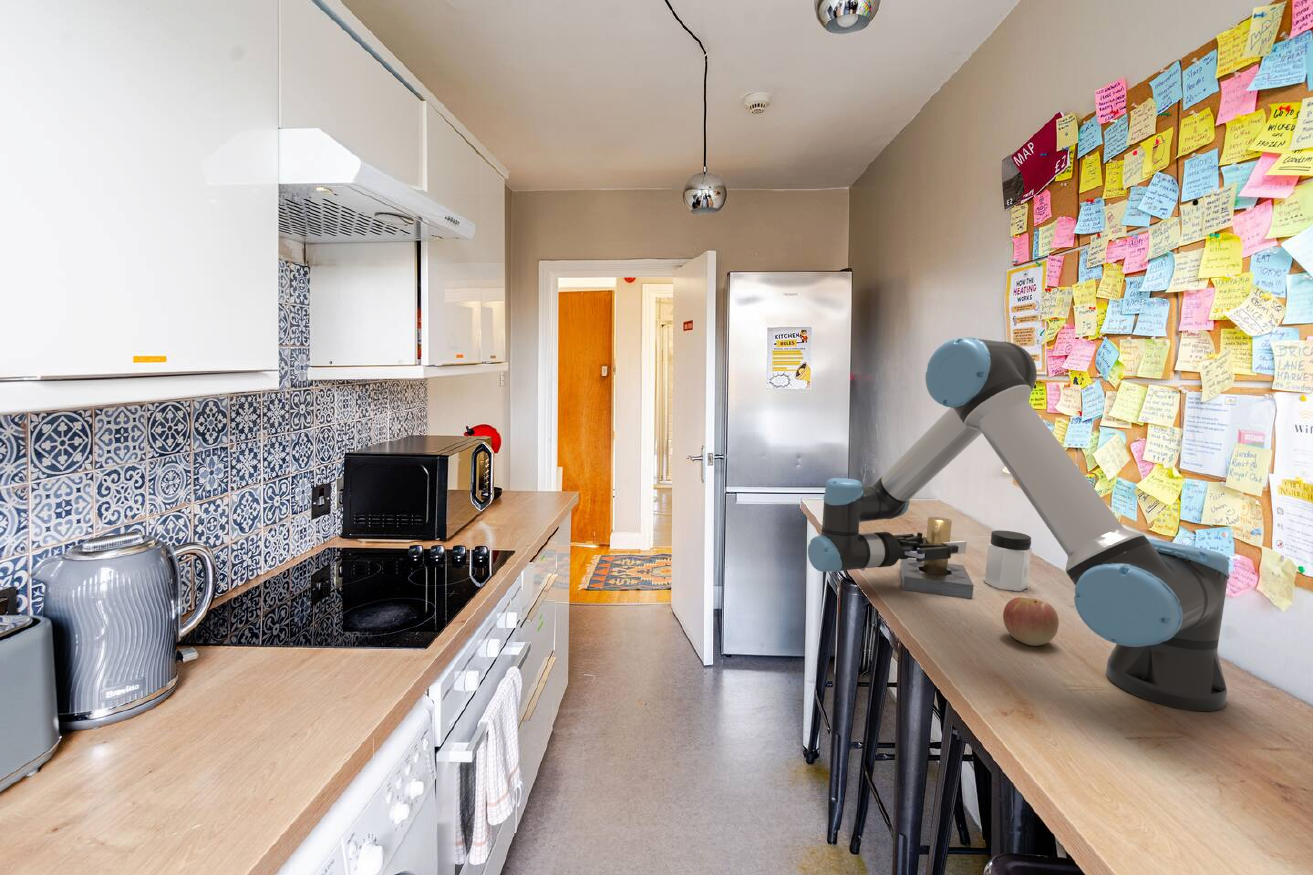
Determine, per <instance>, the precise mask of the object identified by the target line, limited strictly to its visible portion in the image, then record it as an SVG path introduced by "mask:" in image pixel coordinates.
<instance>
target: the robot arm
mask: <svg viewBox="0 0 1313 875" xmlns="http://www.w3.org/2000/svg"><path fill="white" fill-rule="evenodd" d="M926 365H927V368H926V372H925V385H926V389H927V391H928V394H929V395H930V397H931V398H932V399H933V400H934V401H935V402H936V403H937V404H939V405H941V406H943V407H946V408H948V410H946V412H945V413H943V415H941V417H940V418H938V419H937V420H936V421H935V423H934V424H933V425H932V426H931V427H930V428H928V429H927V431H925V432H924V433H923V435H922V436H920V437H919V439H918V440H917V441H915V442H914V444H913V445H911V447H909V449H907V451H905V453H903V454H902V456H900V458H899V459H898V460H897V461H896V462H895V463H894V464H893V465H892V466H890V468H889V469H888V470H887V471H886V472H885V473H883V475H881V477H880V478H879V479H877V481H875V483H873V484H872V485H867V486H864V485H863V484H862V482H861V481H860V480H857V479H854V478H846V477H832V478H829V479H828V480H827V481H826V483H825V489H824V495H823V507H822V508H823V510H822V511H823V512H822V523H821V524H822V525H821V526H822V527H821V530H820V534H819V535H817V536H814V537H813V538H811V540H810V541H809V542H810V543H809V544H808V546H807V556H808V561H809V562H810V564H811V566H812V567H813V568H814V569H815V570H817V571H818V572H823V573H824V572H834V573H838V572H845V571H851V570H852V571H853V570H860V571H865V570H866V569H872V568H873V569H874V568H889V567H893V566H894V565H896V564H897V563H898V561H899V560H901V559H915V560H916V561H917V562H923V561H926V560H938V559H948V560H950V559H951V558H952V555H961V554H966V553H967V552H966V551H967V541H966V540H957V541H956V540H955V541H950V542H942V544H926V535H923V532H917V534H916V535H915V534H913V533H907V534H905V533H904V534H894V535H893V534H892V532H888V531H878V532H877V531H876V532H862V533H859V532H860V523H864V522H865V523H867V522H872V521H873V522H874V521H881V520H891V519H895V518H898V517H901V516H903V515H905V513H906V512H907V511H908V509H909V506H910V500H911V499H912V498H913V497H914V496H915V495H917V493H918V492H919V491H920V490H922V489H923V488H924V487H926V485H927V484H928V483H930V482H931V480H933V479H934V478H935V477H936V476H937V475H938V474H939V473H940V472H942V471H943V469H944V468H947V466H948V465H949V464H950V463H951V462H952V461H953V460H955V459H956V457H958V456H959V455H960V454H961V453H962V452H963V451H964V450H965V449H966V448H968V447H969V446H970V444H972V443H973V442H974V441H975V440H976V439H978V437H980V435H981V434H982V435H983V436H984V438H985V439H986V441H987V442H988V444H989V445H990V446H991V448H992V449H993V451H994V452H995V454H996V455H997V456H998V458H999V459H1000V461H1001V462H1002V464H1003V465H1004V466H1005V468H1006V469H1007V471H1008V473H1009V474H1010V475H1011V476H1012V478H1013V479H1014V481H1015V482H1016V484H1017V485H1018V487H1019V488H1020V490H1021V491H1022V492H1023V494H1024V496H1026V498H1027V500H1028V502H1030V504H1031V506H1032V507H1033V508H1034V510H1035V511H1036V512H1037V515H1039V517H1040V518H1041V519H1042V521H1043V522H1044V524H1045V526H1046V527H1047V528H1048V529H1049V531H1050V533H1051V534H1052V535H1053V537H1054V538H1055V540H1056V541H1057V542H1058V544H1059V545H1060V547H1061V548H1062V550H1063V551H1064V553H1065V554H1066V555H1067V561H1066V566H1065V570H1064V571H1065V572H1066V574H1067V576H1068V577H1069V578H1070V580H1071V581H1072V583H1073V585H1074V586H1075V587H1074V596H1073V599H1074V601H1073V602H1074V605H1075V609H1076V611H1077V613H1078V615H1079V617H1080V618H1081V620H1082V621H1083V622H1084V624H1085V625H1086V626H1087V627H1088V628H1089V630H1091V631H1092V632H1093V633H1095V634H1096V635H1097V636H1099V637H1100V638H1102V639H1104V640H1106V641H1107V642H1111V643H1113V644H1116V645H1115V646H1114V648H1113V650H1112V651H1111V654H1110V655H1109V656H1108V659H1107V662H1106V670H1105V675H1106V677H1107V679H1109V681H1110V682H1112V684H1114V685H1116V686H1117V687H1118V688H1120V689H1122V690H1123V691H1126V692H1127V693H1130V694H1132V695H1134V696H1137V697H1138V698H1139V697H1140V698H1142V699H1145V700H1147V701H1151V702H1153V703H1157V704H1160V705H1164V706H1168V707H1171V708H1172V707H1173V708H1177V709H1181V710H1189V711H1196V712H1198V711H1199V712H1212V711H1214V712H1215V711H1218V710H1221V709H1223V708H1224V707H1225V706H1226V701H1227V694H1228V690H1227V684H1226V681H1225V677H1224V673H1223V669H1222V665H1221V662H1220V658H1219V654H1218V653H1219V652H1218V650H1219V641H1220V640H1219V639H1220V636H1221V628H1222V620H1223V614H1224V608H1225V600H1226V594H1227V586H1228V580H1229V579H1230V573H1229V571H1230V570H1229V568H1230V561H1229V558H1228V557H1227V556H1226V555H1225V554H1222V553H1221V552H1217V551H1214V550H1210V549H1207V548H1203V547H1202V548H1201V547H1197V546H1192V545H1188V544H1182V543H1177V542H1172V541H1165V540H1161V539H1160V540H1159V539H1153V538H1152V539H1151V538H1147V536H1145V534H1144V533H1142V532H1137V531H1134V530H1130V529H1128V528H1127V529H1126V527H1124V525H1122V523H1121V521H1119V519H1118V518H1117V516H1116V515H1115V513H1113V511H1112V510H1111V508H1110V507H1109V506H1108V505H1107V503H1106V502H1105V500H1104V499H1103V498H1102V497H1101V495H1100V494H1099V492H1098V491H1097V490H1096V489H1095V487H1094V486H1093V485H1092V484H1091V482H1090V481H1089V480H1088V479H1087V477H1086V476H1085V474H1084V473H1083V472H1082V470H1081V469H1080V467H1078V465H1077V464H1076V462H1075V461H1074V460H1073V459H1072V457H1071V455H1070V454H1069V453H1068V452H1067V451H1066V449H1065V448H1064V447H1063V445H1062V444H1061V443H1060V441H1059V439H1057V437H1056V436H1055V434H1054V433H1053V432H1052V431H1051V429H1050V428H1049V427H1048V426H1047V424H1046V423H1045V421H1044V420H1043V419H1042V418H1041V416H1040V415H1039V414H1038V412H1037V411H1036V410H1035V408H1034V407H1033V406H1032V404H1031V403H1030V396H1031V393H1032V392H1033V390H1034V388H1035V385H1036V384H1037V377H1038V372H1037V371H1038V370H1037V366H1036V363H1035V361H1034V358H1033V357H1032V356H1031V354H1030V353H1029V352H1028V350H1026V349H1025V348H1023V347H1022V346H1020V345H1018V344H1016V343H1013V342H1008V341H997V340H989V339H984V338H983V339H981V338H976V337H972V336H970V337H962V338H961V337H960V338H955V339H950V340H948V341H946V342H944V343H943V344H941V345H940V346H939V347H938V348H937V349H936V350H935V351H934V352H933V353H932V355H931V357H930V358H929V360H928V362H927V364H926Z"/></svg>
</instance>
